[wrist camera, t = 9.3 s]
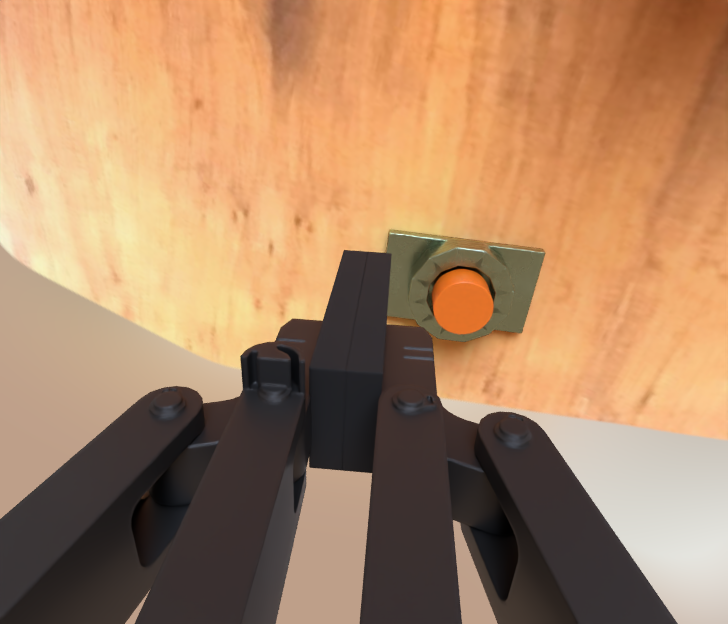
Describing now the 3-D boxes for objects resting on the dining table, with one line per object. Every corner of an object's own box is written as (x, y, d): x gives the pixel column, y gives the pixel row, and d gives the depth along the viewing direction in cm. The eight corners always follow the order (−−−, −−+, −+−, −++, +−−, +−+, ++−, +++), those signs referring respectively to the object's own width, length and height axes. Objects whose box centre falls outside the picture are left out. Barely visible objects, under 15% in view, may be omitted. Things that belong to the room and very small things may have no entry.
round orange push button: (427, 315, 34) (428, 330, 32) (437, 264, 32) (439, 278, 31) (482, 322, 34) (486, 338, 32) (494, 272, 32) (499, 286, 30)
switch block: (377, 313, 37) (376, 331, 34) (390, 225, 34) (388, 238, 31) (518, 331, 36) (526, 350, 34) (544, 245, 33) (554, 259, 31)
